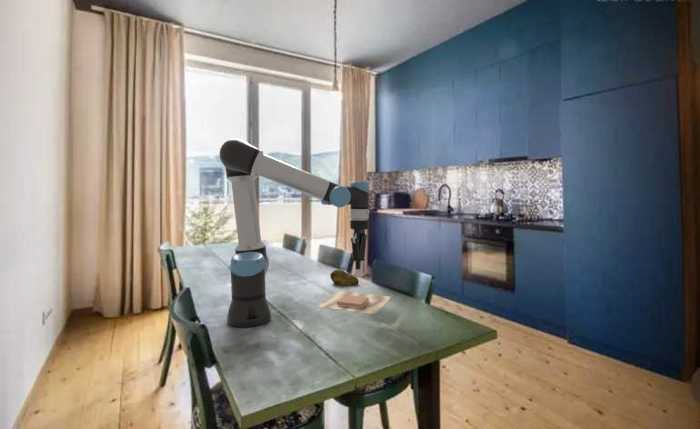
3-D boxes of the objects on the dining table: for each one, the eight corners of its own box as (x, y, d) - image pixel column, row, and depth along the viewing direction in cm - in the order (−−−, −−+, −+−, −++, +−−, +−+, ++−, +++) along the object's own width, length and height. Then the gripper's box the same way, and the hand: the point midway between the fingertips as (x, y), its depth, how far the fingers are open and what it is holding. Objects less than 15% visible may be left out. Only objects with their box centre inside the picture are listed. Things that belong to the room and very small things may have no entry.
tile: (345, 298, 147) (336, 305, 139) (345, 294, 147) (336, 301, 138) (368, 301, 143) (361, 308, 135) (368, 297, 143) (361, 304, 135)
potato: (352, 291, 162) (352, 273, 162) (327, 287, 168) (327, 270, 167) (360, 286, 170) (360, 269, 169) (336, 283, 176) (336, 267, 175)
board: (315, 310, 138) (315, 306, 137) (338, 294, 158) (338, 290, 158) (375, 318, 129) (375, 314, 129) (391, 300, 149) (391, 296, 149)
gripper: (362, 221, 138) (362, 281, 140) (373, 218, 150) (372, 273, 152) (344, 220, 141) (344, 279, 142) (356, 217, 153) (355, 272, 155)
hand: (358, 276), depth 147 cm, fingers closed
